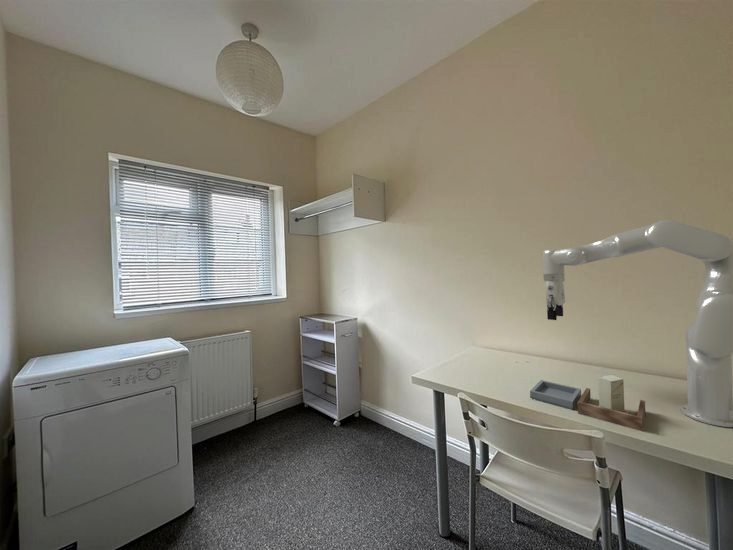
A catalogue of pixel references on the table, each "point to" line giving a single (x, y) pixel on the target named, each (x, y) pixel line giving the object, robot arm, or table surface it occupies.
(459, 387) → the table surface
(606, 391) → the skincare box
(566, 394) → the tray
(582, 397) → the frame
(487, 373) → the table surface
